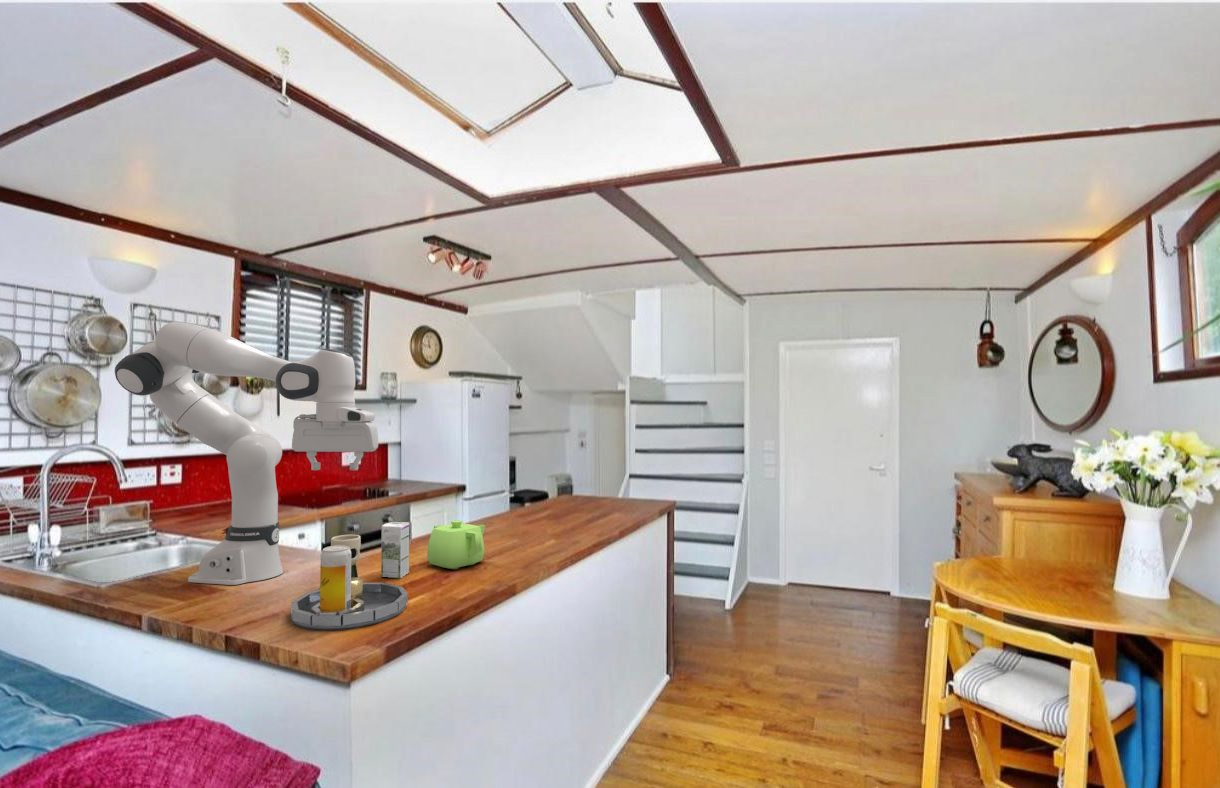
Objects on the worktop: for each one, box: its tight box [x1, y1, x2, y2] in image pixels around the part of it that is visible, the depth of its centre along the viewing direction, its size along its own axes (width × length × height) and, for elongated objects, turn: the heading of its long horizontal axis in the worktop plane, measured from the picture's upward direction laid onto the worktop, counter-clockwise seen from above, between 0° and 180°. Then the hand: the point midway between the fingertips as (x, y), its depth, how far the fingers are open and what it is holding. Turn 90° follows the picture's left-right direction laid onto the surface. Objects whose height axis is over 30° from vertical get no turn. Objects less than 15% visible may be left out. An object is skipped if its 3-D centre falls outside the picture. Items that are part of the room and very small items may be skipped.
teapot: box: [426, 519, 486, 570], centre depth 181 cm, size 18×20×13 cm
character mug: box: [330, 534, 362, 578], centre depth 156 cm, size 11×7×13 cm, turn 174°
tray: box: [290, 576, 409, 631], centre depth 138 cm, size 24×24×7 cm
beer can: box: [319, 545, 351, 611], centre depth 131 cm, size 6×6×15 cm
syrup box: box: [380, 521, 410, 579], centre depth 167 cm, size 6×6×14 cm
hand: (335, 470), depth 149 cm, fingers open, 8 cm apart
